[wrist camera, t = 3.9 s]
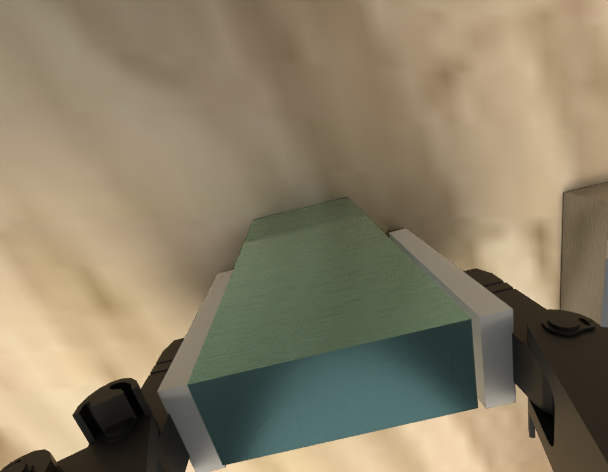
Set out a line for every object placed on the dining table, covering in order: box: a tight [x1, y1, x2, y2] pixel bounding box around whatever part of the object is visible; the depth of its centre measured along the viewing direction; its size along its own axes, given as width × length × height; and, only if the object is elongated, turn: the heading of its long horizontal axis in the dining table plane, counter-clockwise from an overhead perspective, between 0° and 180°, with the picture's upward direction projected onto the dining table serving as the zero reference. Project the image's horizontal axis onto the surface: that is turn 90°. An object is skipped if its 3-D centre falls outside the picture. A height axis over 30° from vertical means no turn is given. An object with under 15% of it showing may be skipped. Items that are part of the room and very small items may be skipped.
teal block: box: [187, 197, 478, 465], centre depth 9 cm, size 6×4×9 cm, turn 13°
